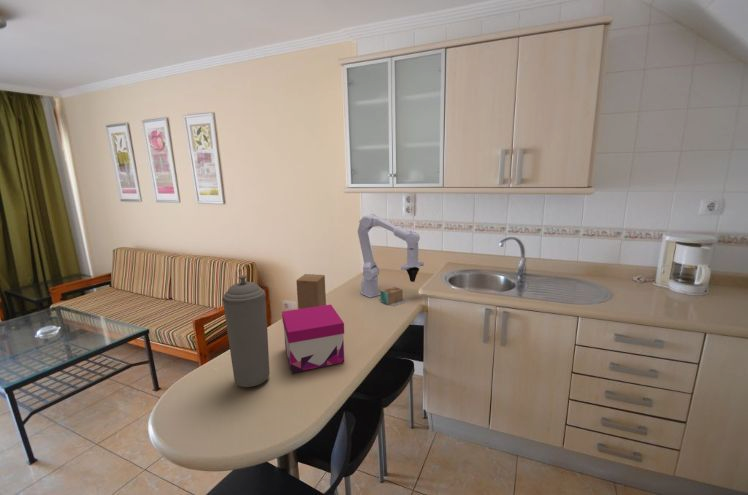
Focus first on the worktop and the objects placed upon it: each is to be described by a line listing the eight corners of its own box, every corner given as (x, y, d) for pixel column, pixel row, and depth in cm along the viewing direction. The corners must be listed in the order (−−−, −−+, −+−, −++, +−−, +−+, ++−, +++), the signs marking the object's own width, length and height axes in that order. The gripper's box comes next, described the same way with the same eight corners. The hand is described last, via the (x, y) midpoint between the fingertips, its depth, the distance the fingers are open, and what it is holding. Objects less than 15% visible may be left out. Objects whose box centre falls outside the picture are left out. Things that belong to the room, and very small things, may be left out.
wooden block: (319, 323, 152) (317, 281, 148) (298, 322, 154) (295, 280, 150) (326, 314, 162) (325, 274, 158) (307, 313, 164) (304, 273, 160)
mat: (378, 300, 180) (378, 299, 179) (394, 295, 186) (394, 295, 186) (393, 307, 170) (393, 306, 170) (409, 302, 177) (409, 301, 177)
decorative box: (332, 339, 138) (331, 304, 135) (345, 362, 120) (343, 323, 117) (284, 347, 131) (281, 311, 128) (290, 373, 114) (287, 332, 111)
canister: (237, 395, 103) (225, 285, 95) (227, 376, 113) (215, 275, 106) (278, 380, 110) (270, 276, 103) (265, 363, 120) (256, 268, 113)
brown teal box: (380, 290, 175) (394, 286, 181) (380, 301, 176) (395, 297, 182) (387, 293, 171) (402, 289, 176) (387, 304, 172) (402, 300, 178)
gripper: (407, 259, 167) (407, 286, 170) (428, 255, 175) (427, 280, 178) (398, 257, 172) (398, 282, 175) (418, 253, 181) (418, 277, 184)
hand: (412, 281), depth 177 cm, fingers closed
